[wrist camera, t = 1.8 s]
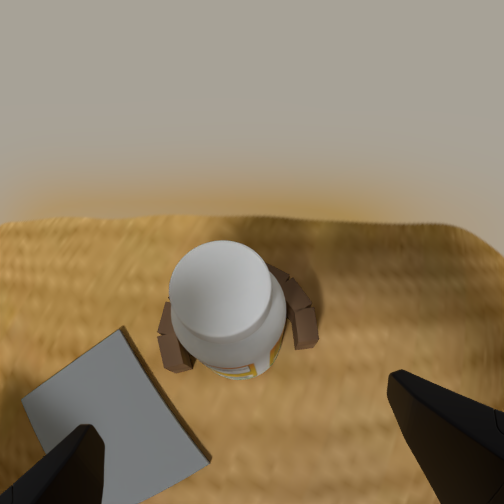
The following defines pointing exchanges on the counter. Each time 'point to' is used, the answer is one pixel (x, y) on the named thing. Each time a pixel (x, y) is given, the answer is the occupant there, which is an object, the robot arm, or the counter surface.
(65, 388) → the mat
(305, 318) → the c ring
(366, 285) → the counter surface
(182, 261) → the supplement bottle
